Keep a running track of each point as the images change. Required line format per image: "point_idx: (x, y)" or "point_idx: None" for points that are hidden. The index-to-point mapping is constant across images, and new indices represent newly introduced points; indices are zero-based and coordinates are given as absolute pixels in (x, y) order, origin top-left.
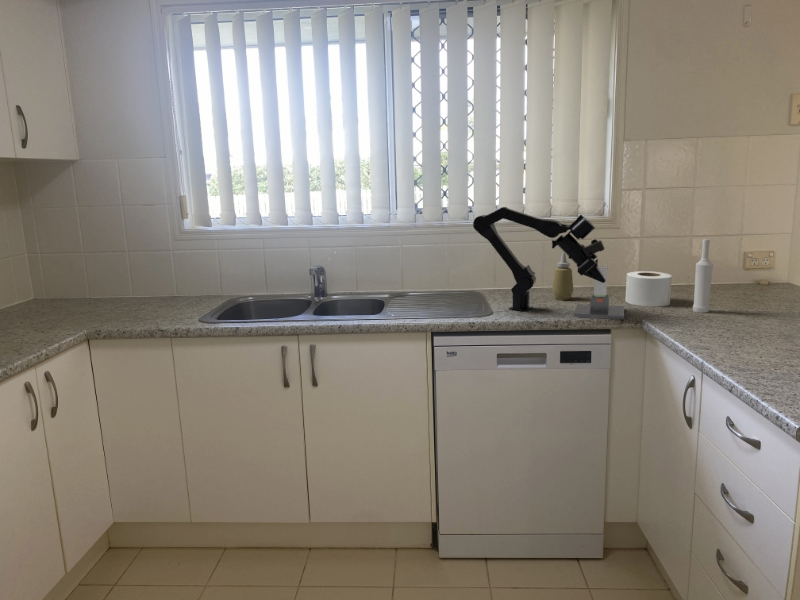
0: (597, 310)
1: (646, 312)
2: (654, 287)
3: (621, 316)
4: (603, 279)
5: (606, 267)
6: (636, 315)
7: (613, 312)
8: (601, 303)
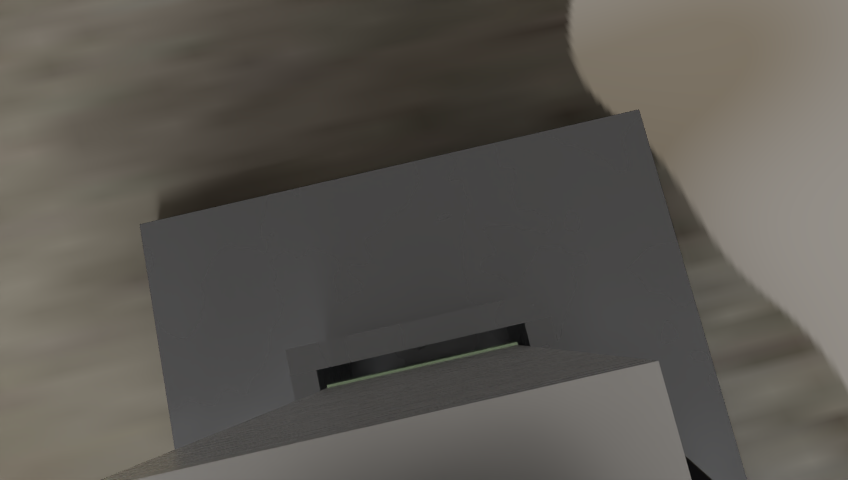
0: None
1: (222, 3)
2: None
3: (644, 135)
4: None
5: (503, 440)
6: (393, 57)
7: (523, 245)
8: None
